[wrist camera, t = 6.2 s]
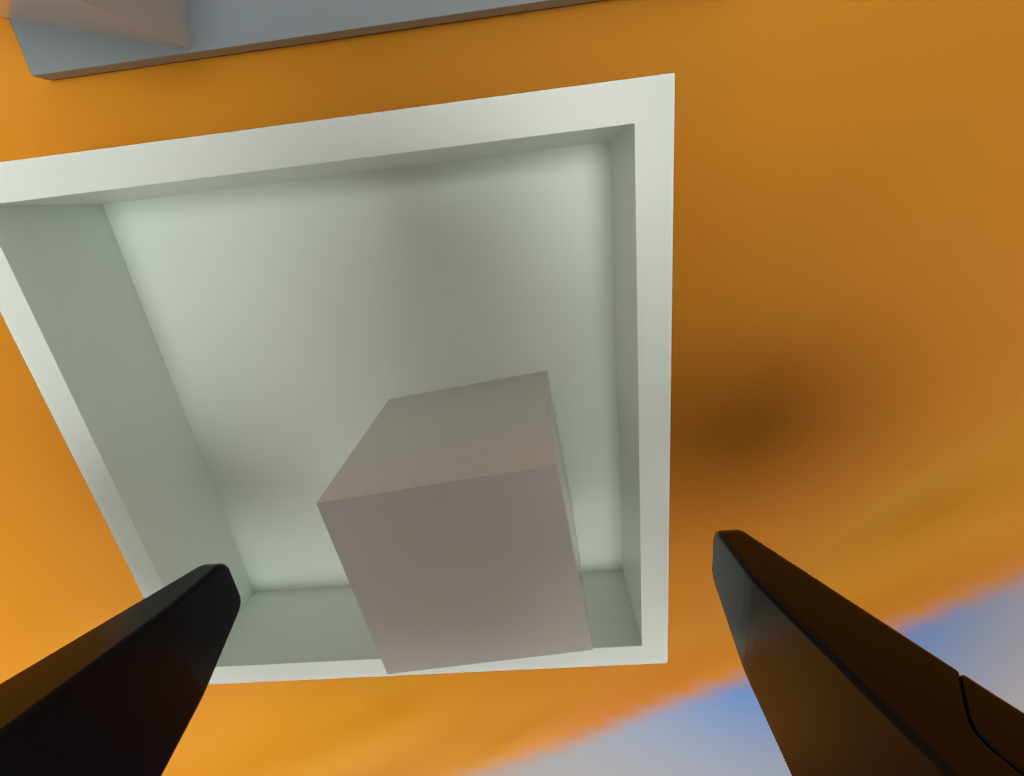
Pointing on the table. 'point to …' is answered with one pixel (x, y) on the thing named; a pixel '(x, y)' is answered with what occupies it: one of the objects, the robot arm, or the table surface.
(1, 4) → the grey cube
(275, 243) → the tray
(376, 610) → the light grey cube
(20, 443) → the table surface
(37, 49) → the lid board
